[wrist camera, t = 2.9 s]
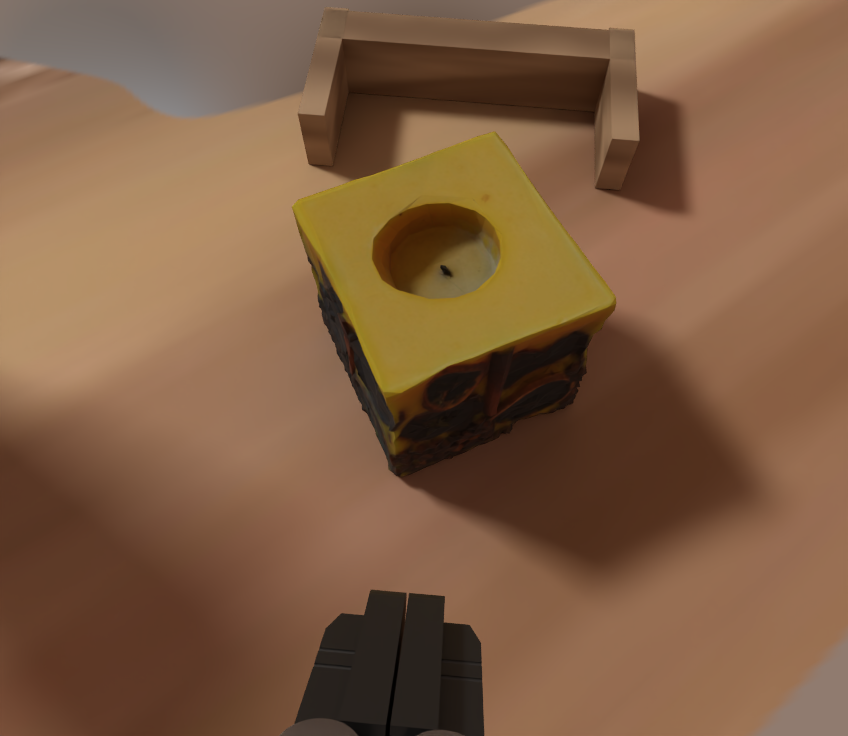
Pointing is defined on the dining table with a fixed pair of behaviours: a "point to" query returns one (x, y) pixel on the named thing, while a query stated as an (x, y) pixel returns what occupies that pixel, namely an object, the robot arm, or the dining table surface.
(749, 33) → the dining table surface
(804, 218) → the dining table surface
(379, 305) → the candle
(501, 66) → the dock
